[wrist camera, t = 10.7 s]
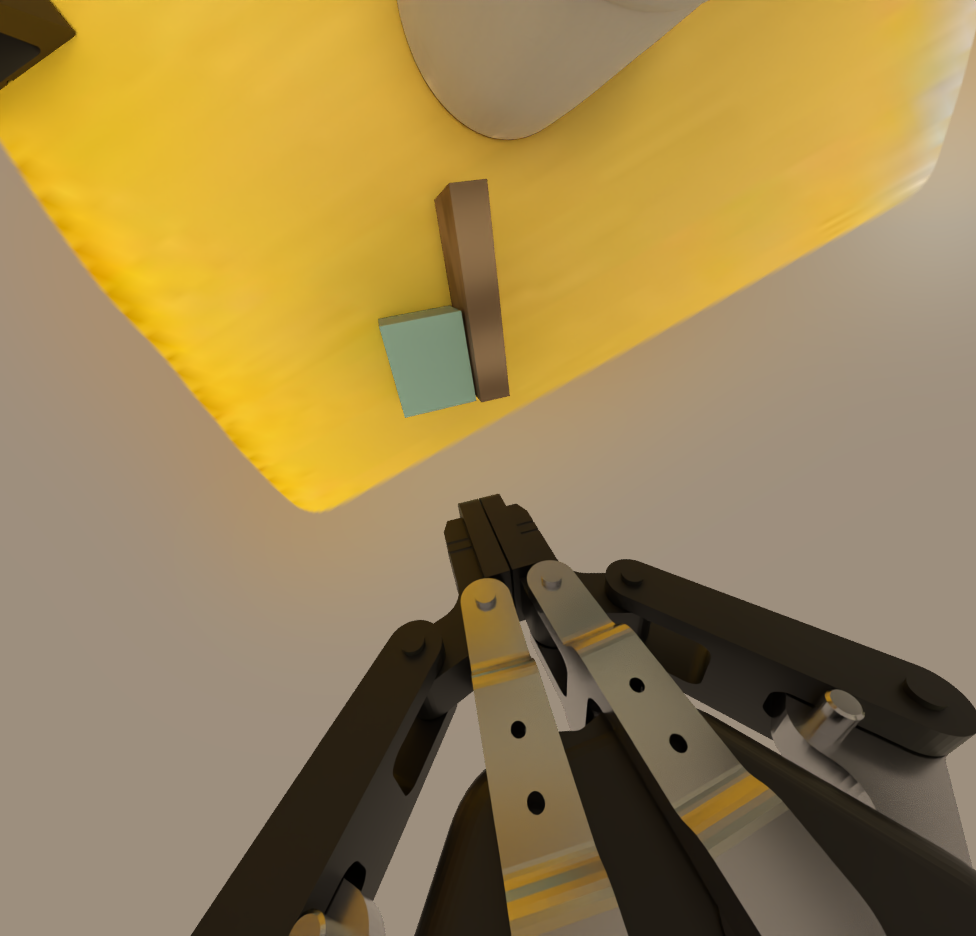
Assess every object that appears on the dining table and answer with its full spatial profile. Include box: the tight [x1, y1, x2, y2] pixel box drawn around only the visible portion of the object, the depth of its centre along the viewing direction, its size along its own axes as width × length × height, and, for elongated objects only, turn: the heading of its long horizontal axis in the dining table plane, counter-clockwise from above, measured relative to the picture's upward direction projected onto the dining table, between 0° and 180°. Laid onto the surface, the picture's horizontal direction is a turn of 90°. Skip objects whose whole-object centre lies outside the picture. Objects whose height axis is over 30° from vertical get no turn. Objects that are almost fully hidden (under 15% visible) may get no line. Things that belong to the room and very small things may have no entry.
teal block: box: [378, 306, 476, 418], centre depth 30 cm, size 7×6×5 cm
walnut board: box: [434, 179, 510, 402], centre depth 28 cm, size 14×2×6 cm, turn 8°
